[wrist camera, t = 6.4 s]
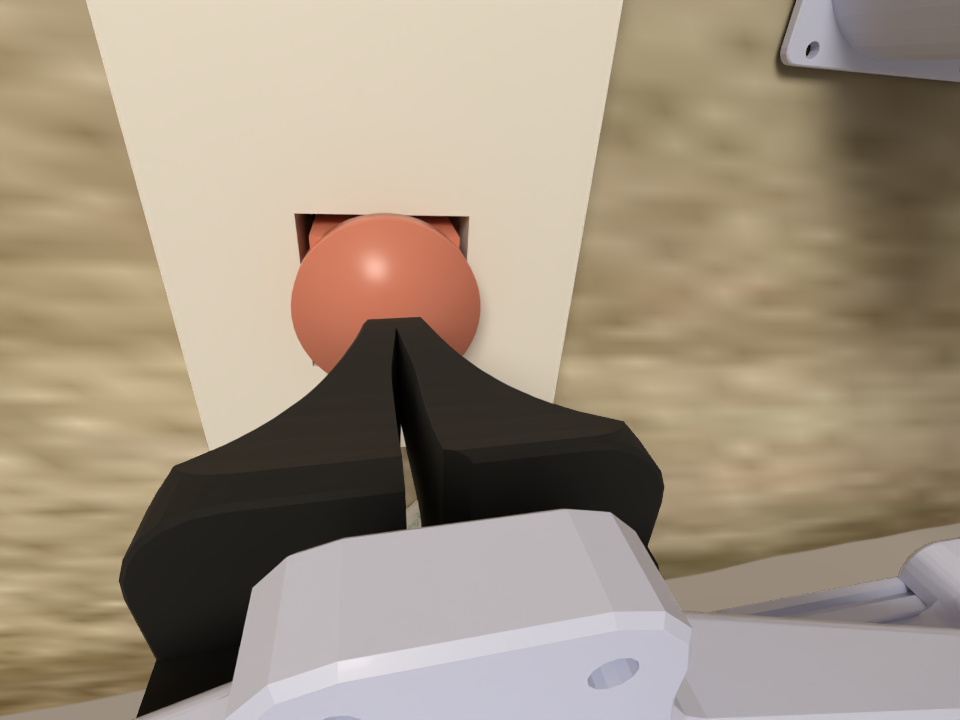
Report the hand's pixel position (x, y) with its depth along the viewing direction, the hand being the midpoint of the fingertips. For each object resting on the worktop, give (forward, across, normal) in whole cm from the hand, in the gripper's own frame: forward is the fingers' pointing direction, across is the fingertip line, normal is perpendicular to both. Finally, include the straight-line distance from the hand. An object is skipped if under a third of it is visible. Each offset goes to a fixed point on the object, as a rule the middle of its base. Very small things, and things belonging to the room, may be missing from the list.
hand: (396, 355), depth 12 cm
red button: (+7, 0, 0) cm, 7 cm away
